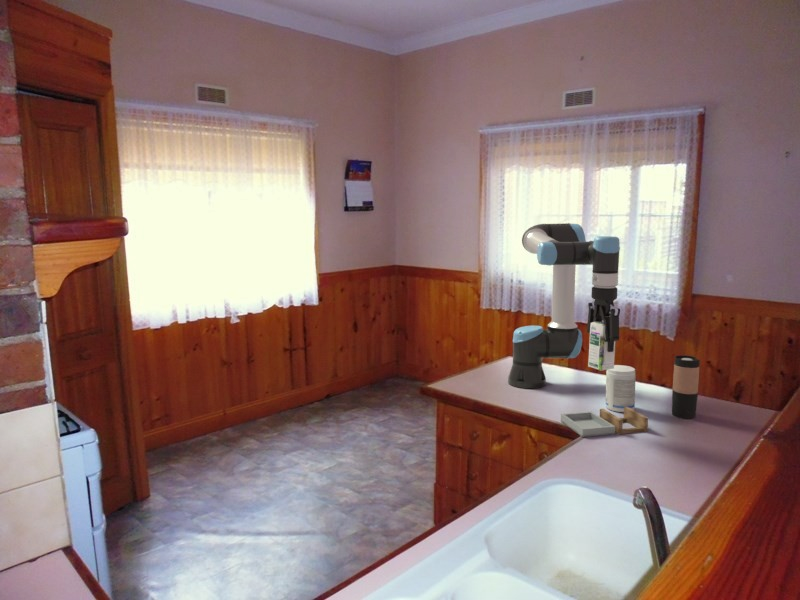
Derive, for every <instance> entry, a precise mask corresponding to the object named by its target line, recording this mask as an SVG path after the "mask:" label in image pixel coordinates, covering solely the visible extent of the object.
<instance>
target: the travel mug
mask: <svg viewBox="0 0 800 600" xmlns="http://www.w3.org/2000/svg"><path fill="white" fill-rule="evenodd" d="M700 360H701V359H700V358H696V356H692V355H683V354H682V355H675V356H674V365H673V378H672V379H673V380H672V391H671V393H672V396H671V397H672V400H671V415H672V416H674V417H675V418H679V419H683V420H691V419H695V418H696V414H697V405H698V395H699V382H700V381H699V379H700V362H701V361H700Z"/></svg>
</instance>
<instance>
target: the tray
mask: <svg viewBox="0 0 800 600" xmlns="http://www.w3.org/2000/svg"><path fill="white" fill-rule="evenodd" d="M560 422H561V423H562V424H564V425H565V426H566V427H568V429H570V430H572V431H573V432H575V434H578V435H579V436H580V437H582V438H587V437H588V438H589V437H596V436H597V435H600V436H608V435H607V434H611V435H615V434H616V432H615V426H614V425H612V424H610V423H609V422H607V421H606V420H604V419H603V418H601V417H600V415H597V414H596V413H594V412H593V411H582V412H569V413H560ZM597 437H598V436H597Z"/></svg>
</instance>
